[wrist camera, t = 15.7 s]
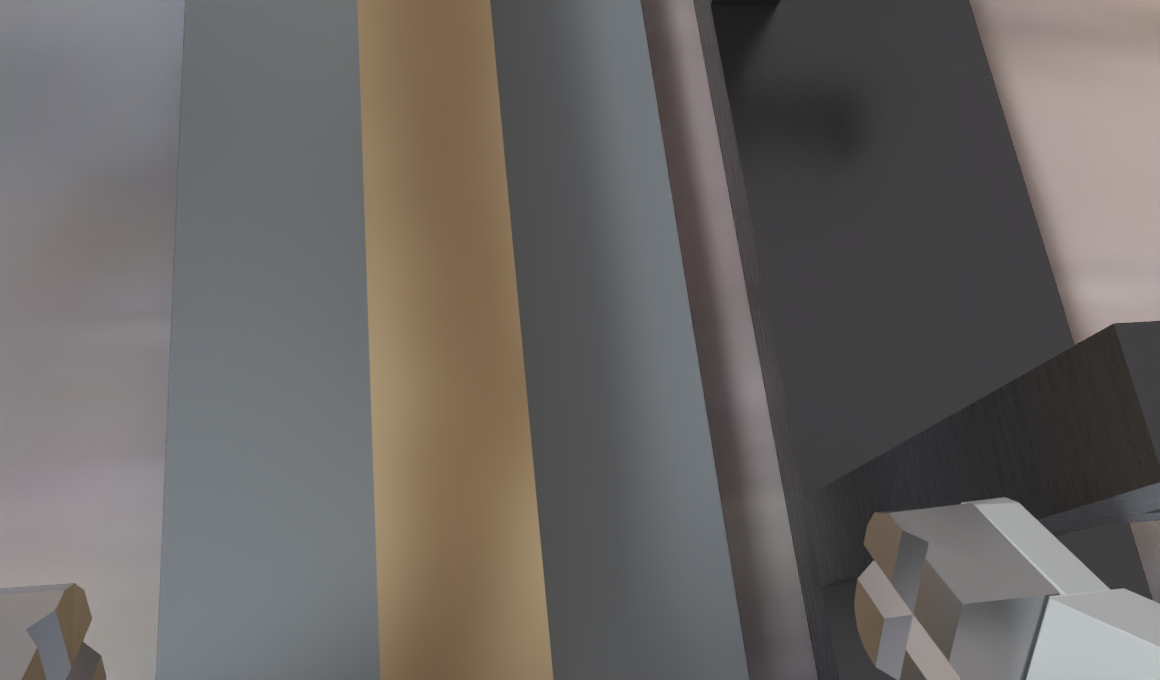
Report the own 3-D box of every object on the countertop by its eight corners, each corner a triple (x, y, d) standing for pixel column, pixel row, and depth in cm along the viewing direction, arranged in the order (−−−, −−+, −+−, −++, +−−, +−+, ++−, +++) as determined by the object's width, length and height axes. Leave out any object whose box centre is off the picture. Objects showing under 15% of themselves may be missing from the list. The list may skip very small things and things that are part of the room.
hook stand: (827, 729, 21) (1254, 756, 10) (675, -100, 29) (818, -585, 18) (1143, 689, 23) (1824, 673, 12) (913, -94, 31) (1181, -542, 20)
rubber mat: (164, 871, 19) (147, 881, 17) (204, -191, 28) (194, -228, 27) (749, 790, 21) (767, 794, 19) (600, -175, 30) (607, -208, 29)
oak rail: (390, 735, 19) (382, 740, 16) (359, -115, 26) (350, -211, 24) (539, 717, 19) (557, 719, 17) (467, -112, 27) (470, -206, 24)
